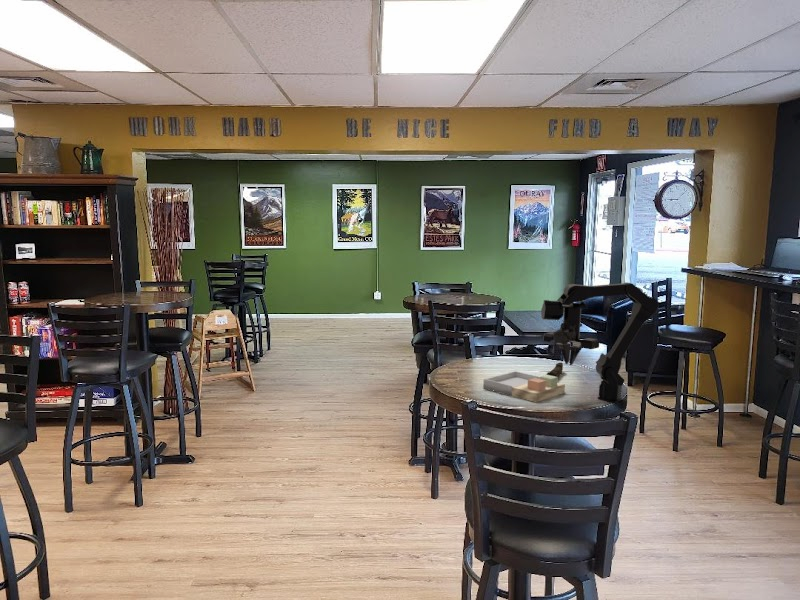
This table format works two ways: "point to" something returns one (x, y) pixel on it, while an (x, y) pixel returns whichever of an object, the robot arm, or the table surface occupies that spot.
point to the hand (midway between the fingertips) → (568, 364)
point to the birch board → (537, 392)
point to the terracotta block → (536, 384)
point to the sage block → (550, 380)
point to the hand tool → (556, 370)
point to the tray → (507, 381)
